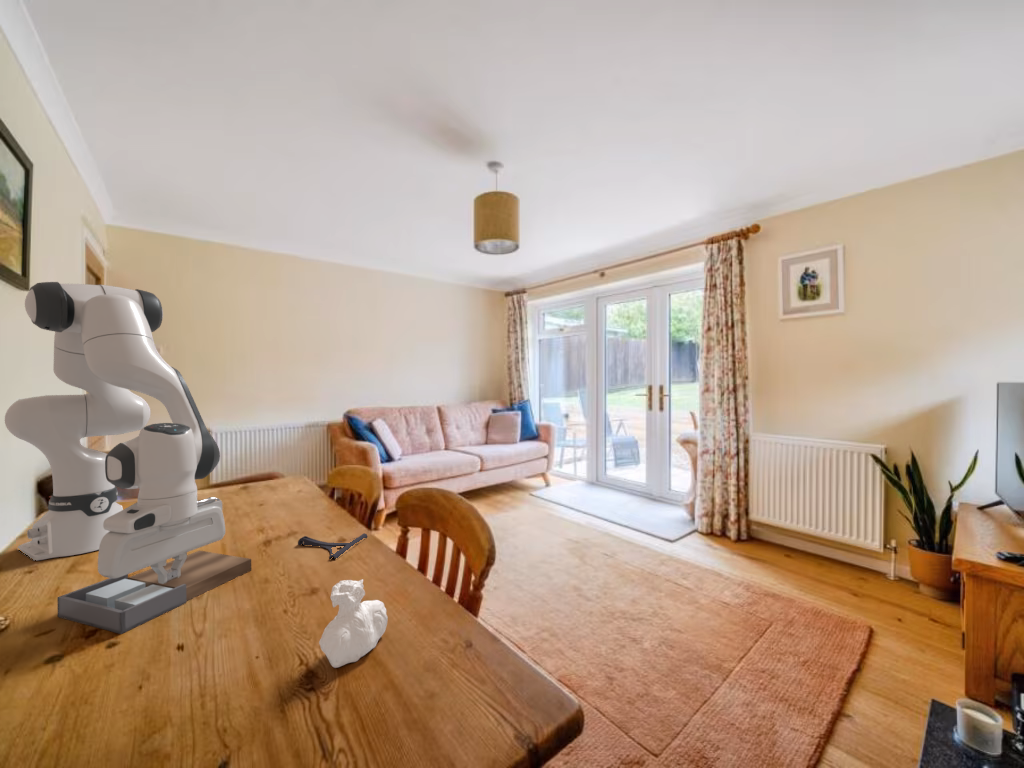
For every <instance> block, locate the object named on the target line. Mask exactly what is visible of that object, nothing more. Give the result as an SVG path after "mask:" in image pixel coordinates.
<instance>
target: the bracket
mask: <svg viewBox="0 0 1024 768" xmlns="http://www.w3.org/2000/svg"><path fill="white" fill-rule="evenodd" d="M355 538H356V539H355ZM355 538H354V539H355V540H353V541H352V542H350V543H334V542H328V541H327V542H326V541H321V540H318V539H315V538H311V537H309V536H306V535H304V536H302V537H300V538H299V539H298V541H297V546H298V545H301V544H303V543H304V544H303V545H312V546H311V547H313V546H320V547H319V548H322V547H323V548H322V549H325V548H326V549H325V550H327V549H328V550H327V551H328V552H329V551H330V552H329V553H330V555H329V557H328V558H329V559H331V558H332V557H334V558H332V559H336V558H338V557H339V556H340V555H341V554H343V553H344V552H345V551H346V550H348V549H349V548H350V547H351V546H353V545H354V544H355V543H357V542H359V541H360V540H362V539H363V538H366V539H367V538H368V535H367V533H362V534H361V535H359V536H357V537H355ZM336 546H344V547H343V548H339V549H338V550H339V551H337V552H336V553H335V554H333V553H332V549H331V548H332V547H336ZM331 554H333V555H331ZM339 558H340V557H339ZM339 558H338V559H339ZM332 559H331V560H332Z"/></svg>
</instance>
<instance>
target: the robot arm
mask: <svg viewBox="0 0 1024 768" xmlns="http://www.w3.org/2000/svg"><path fill="white" fill-rule="evenodd" d="M24 299H25V300H24V307H25V311H26V314H27V316H28V317H29V319H30V320H31V322H32V323H33V325H34V326H36V327H38V328H39V329H41V330H44V331H45V330H46V331H49V332H54V338H53V339H54V340H53V373H54V375H55V376H56V377H57V379H59V381H62V382H63V383H64V384H66V385H69V386H72V387H75V388H77V389H82V390H83V391H86V392H87V393H84V394H51V395H50V394H49V395H47V394H45V395H40V396H33V397H26V398H21V399H20V398H19V399H18V400H16V401H15V402H14V403H12V404H11V405H10V406H9V407H8V409H7V410H6V413H5V415H4V424H5V428H7V430H8V432H9V433H10V434H12V436H14V437H16V438H17V439H20V440H22V441H25V442H26V443H29V444H31V445H32V446H33V447H35V448H36V449H38V450H39V451H40V452H41V453H42V454H43V455H44V456H45V458H46V460H47V461H48V463H49V466H50V471H51V476H52V477H51V478H52V489H53V491H52V492H53V493H52V495H50V496H48V498H50V499H49V500H48V505H47V509H48V511H47V512H45V514H44V515H43V516H41V517H40V518H39V519H37V521H35V522H34V523H33V525H32V528H30V529H27V530H26V531H27V533H26V535H27V538H28V539H29V540H30V541H27V542H24V543H22V544H19V545H18V546H17V549H18V548H19V549H20V550H21V551H22V552H23V553H25V554H26V555H28V556H29V557H30V558H29V557H28V556H27V557H28V558H29V559H31V558H32V559H33V560H32V559H31V560H32V561H35V560H36V561H43V560H47V559H48V560H49V559H53V558H59V557H60V558H61V557H69V556H74V555H81V554H86V553H91V552H94V551H98V555H97V557H98V558H97V572H98V573H99V575H100V576H102V577H104V578H107V579H109V578H113V579H115V578H119V577H122V576H124V575H127V574H128V575H129V574H132V573H134V572H137V571H140V570H143V569H145V568H148V567H150V569H153V570H154V571H155V572H156V573H157V574H158V582H159V583H161V584H164V583H167V582H169V581H171V580H174V579H176V578H179V577H180V576H181V568H182V566H183V564H184V562H185V560H186V558H187V555H188V552H192V551H194V550H197V549H199V548H202V547H205V546H208V545H210V544H212V543H216V542H219V541H221V540H222V539H223V538H224V536H225V535H226V524H225V523H226V522H225V517H224V513H223V501H222V500H221V499H220V498H219V497H215V496H211V497H207V498H205V499H198V486H197V483H196V480H204V479H205V478H206V477H208V476H209V475H210V474H211V473H212V472H213V471H214V469H216V467H217V466H218V464H219V462H220V459H221V453H220V449H219V448H220V447H219V445H218V443H217V442H216V440H215V438H214V437H213V436H212V434H211V433H210V432H209V430H208V427H206V424H205V422H204V419H203V417H202V415H201V413H200V411H199V408H198V406H197V404H196V402H195V399H194V398H193V395H192V393H191V390H190V388H189V387H188V386H189V385H188V384H187V382H186V380H185V378H184V377H183V375H182V374H181V372H180V371H179V370H178V369H177V368H175V367H173V366H171V365H170V364H169V363H168V362H166V361H165V359H164V358H163V357H162V356H161V354H160V353H159V352H158V349H157V347H156V344H155V340H154V337H153V333H154V332H155V331H157V330H158V329H159V328H160V327H161V325H162V322H163V319H164V310H163V306H162V303H161V300H160V299H159V298H158V297H157V296H156V294H154V293H152V292H149V291H147V290H142V289H139V288H138V289H137V288H136V289H131V288H125V287H121V286H114V285H107V284H90V283H89V284H87V283H85V284H84V283H59V282H58V281H45V282H44V281H43V282H37V283H35V284H34V285H32V286H31V287H30V289H29V291H28V292H27V294H26V296H25V298H24ZM132 391H133V392H132ZM134 392H137V393H141V394H144V395H147V396H149V397H151V398H154V399H156V400H157V401H159V402H160V403H161V404H162V405H163V406H164V407H165V408H166V412H167V413H168V415H169V418H170V420H171V422H159V423H152V424H149V425H147V424H148V423H149V421H150V420H151V415H152V414H151V413H152V412H151V407H150V405H149V404H148V402H147V401H146V400H145V399H144V398H143V397H141V395H138V394H136V393H134ZM136 431H139V434H138V436H136V437H134V438H132V439H130V440H127V441H123V442H120V443H118V444H116V445H115V446H114V447H113V448H112V449H110V450H109V452H108V453H107V452H103V451H100V450H96V449H92V448H89V447H86V446H84V445H82V443H81V439H83V438H88V437H89V438H91V437H102V436H103V437H104V436H117V435H124V434H129V433H132V432H136ZM118 488H120V489H122V490H134V489H135V490H136V489H139V491H138V494H137V502H135V503H132V505H129V506H128V507H126V508H124V509H123V505H122V504H119V503H117V502H116V501H118V493H119V492H118ZM23 553H22V554H23ZM25 554H24V555H25ZM26 555H25V556H26ZM170 559H173V560H174V562H173V564H172V566H171V569H169V570H165V569H164V568H163V566H166V563H167V560H170Z"/></svg>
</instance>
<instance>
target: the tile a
mask: <svg viewBox="0 0 1024 768" xmlns="http://www.w3.org/2000/svg"><path fill="white" fill-rule="evenodd" d="M143 588H145V583H143V582H139V581H134V580H129V579H123V580H120V581H117V582H115V583H112V584H109V585H107V586H104V587H102V588H99V589H96V590H94V591H91V592H88V593H86V602H90V603H94V604H98V605H102V606H107V607H111V608H115V600H116V599H119V598H121V597H124V596H126V595H129V594H131V593H133V592H136V591H138V590H141V589H143Z"/></svg>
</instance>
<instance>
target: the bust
mask: <svg viewBox="0 0 1024 768" xmlns="http://www.w3.org/2000/svg"><path fill="white" fill-rule="evenodd" d="M363 583H364V579H360V580H352V579H346V580H345V579H344V580H342V579H341V580H339V582H337V583H336V584H334V585H333V586H332V588H331V594H330V597H329V598H330V600H331V603H332V608H335V607H337V606H338V612H337V615H335V616H334V618H333V619H332V620H331V621H330V622H329V623H328V624H327V625H326V627H325V628H324V630H323V633H322V634H321V638H320V639H319V641H318V644H319V646H320V649H321V651H322V652H323V653H324V654H325V656H326V658H327V660H328V662H329V664H330V666H332V667H333V668H334V669H336V668H340V667H342V666H345V665H347V664H350V663H356V662H358V661H359V660H360V659H361V658H362V657H364V656H366V654H368V653H369V652H370V651H372V650H373V649H375V648H376V646H377V645H378V641H379V640H380V639H381V638H382V636H383V635H384V634H385V632H386V629H387V625H388V619H389V618H388V615H387V608H386V607H385V603H384V602H383V601H380V600H379V599H373V600H364V601H362V599H363V598H364V596H366V591H365V589H364V586H365V585H364V584H363Z"/></svg>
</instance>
